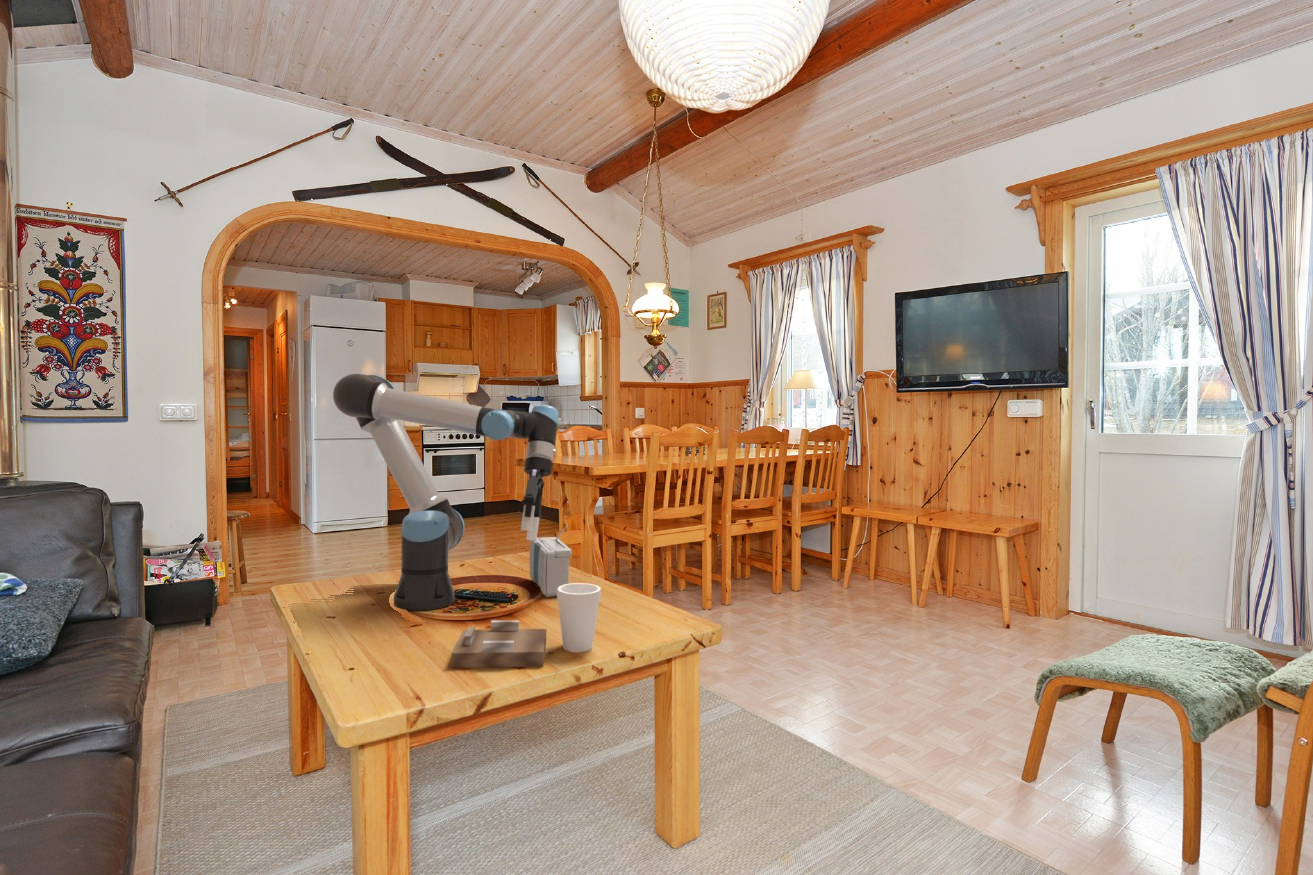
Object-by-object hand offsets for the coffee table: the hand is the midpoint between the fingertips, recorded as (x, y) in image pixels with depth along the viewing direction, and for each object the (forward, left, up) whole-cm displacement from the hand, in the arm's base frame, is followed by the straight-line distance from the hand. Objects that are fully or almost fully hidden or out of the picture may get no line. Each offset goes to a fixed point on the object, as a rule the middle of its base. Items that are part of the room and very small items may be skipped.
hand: (528, 535), depth 182 cm
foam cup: (+13, -35, -18) cm, 41 cm away
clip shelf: (-3, -38, -18) cm, 43 cm away
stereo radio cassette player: (+5, +14, -18) cm, 24 cm away
